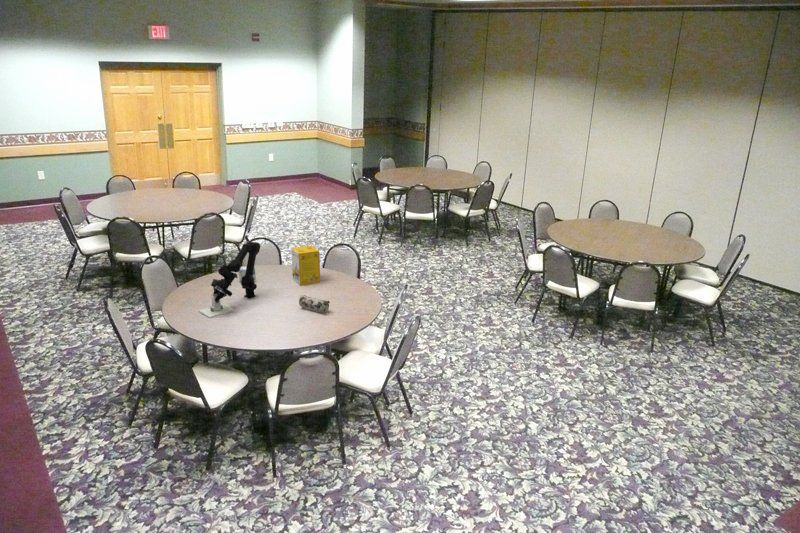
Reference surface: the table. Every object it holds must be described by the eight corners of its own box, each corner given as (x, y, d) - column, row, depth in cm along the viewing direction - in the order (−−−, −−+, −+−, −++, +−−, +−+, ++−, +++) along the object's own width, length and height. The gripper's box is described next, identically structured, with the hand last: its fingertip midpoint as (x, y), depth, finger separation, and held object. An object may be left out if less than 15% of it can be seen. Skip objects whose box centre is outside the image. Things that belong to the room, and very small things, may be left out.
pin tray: (234, 310, 387) (234, 305, 386) (209, 318, 375) (209, 313, 374) (223, 304, 396) (223, 300, 395) (199, 312, 384) (198, 307, 383)
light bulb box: (256, 280, 442) (255, 266, 439) (253, 283, 436) (252, 269, 433) (242, 279, 443) (241, 265, 440) (239, 282, 437) (238, 268, 433)
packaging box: (292, 279, 446) (291, 247, 438) (312, 275, 453) (311, 245, 445) (299, 285, 432) (298, 253, 424) (320, 282, 440) (319, 251, 431)
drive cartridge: (220, 308, 385) (219, 294, 382) (215, 310, 382) (213, 296, 379) (218, 307, 388) (216, 293, 384) (212, 308, 385) (211, 294, 382)
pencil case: (330, 311, 389) (330, 297, 386) (323, 315, 382) (322, 301, 379) (305, 304, 399) (304, 291, 396) (297, 308, 392) (296, 295, 389)
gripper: (212, 270, 386) (198, 290, 382) (226, 278, 374) (212, 298, 370) (223, 279, 394) (210, 298, 390) (238, 286, 382) (224, 306, 378)
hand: (213, 300), depth 382 cm, fingers closed on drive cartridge, 4 cm apart
